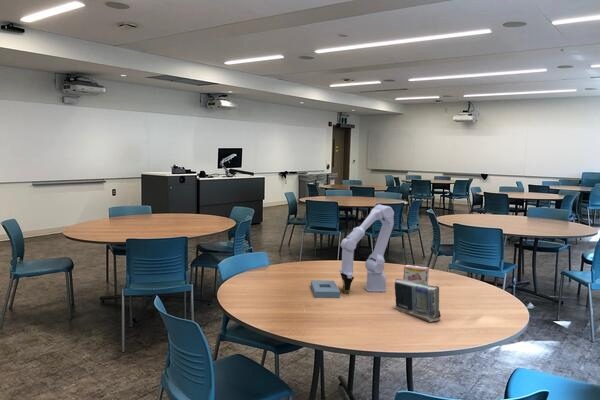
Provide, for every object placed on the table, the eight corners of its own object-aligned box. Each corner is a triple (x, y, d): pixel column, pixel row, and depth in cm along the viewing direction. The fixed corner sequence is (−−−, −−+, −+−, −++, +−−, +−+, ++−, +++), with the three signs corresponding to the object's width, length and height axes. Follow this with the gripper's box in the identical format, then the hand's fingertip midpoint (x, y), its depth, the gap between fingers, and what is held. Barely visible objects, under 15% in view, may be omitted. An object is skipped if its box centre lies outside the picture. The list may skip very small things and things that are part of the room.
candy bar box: (401, 299, 220) (403, 266, 219) (404, 296, 225) (405, 264, 223) (425, 303, 216) (427, 269, 214) (427, 300, 220) (429, 267, 219)
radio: (390, 307, 209) (392, 275, 207) (405, 305, 213) (407, 273, 211) (426, 324, 188) (428, 289, 187) (441, 321, 192) (443, 287, 191)
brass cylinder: (349, 290, 233) (349, 279, 232) (350, 293, 229) (351, 281, 228) (341, 290, 232) (342, 279, 232) (343, 293, 228) (343, 281, 228)
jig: (333, 286, 240) (333, 280, 240) (339, 297, 220) (340, 291, 220) (310, 285, 239) (310, 280, 239) (315, 297, 219) (315, 291, 219)
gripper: (337, 258, 236) (336, 284, 237) (342, 265, 222) (341, 292, 223) (350, 259, 237) (349, 284, 238) (356, 265, 222) (355, 292, 223)
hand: (346, 288), depth 230 cm, fingers closed on brass cylinder, 4 cm apart
